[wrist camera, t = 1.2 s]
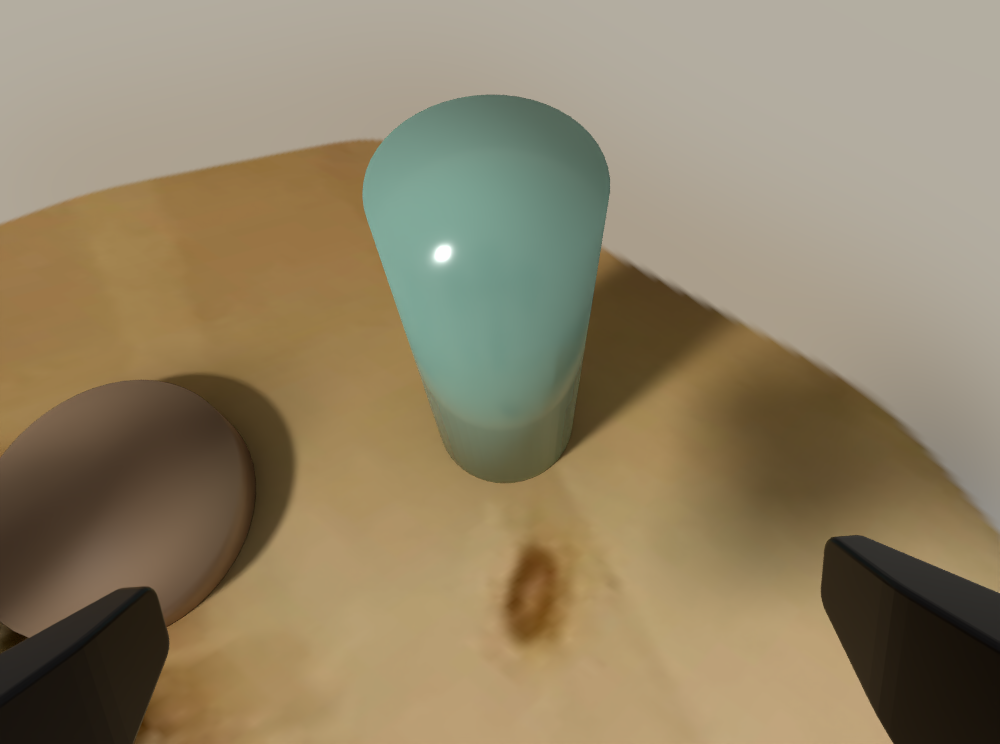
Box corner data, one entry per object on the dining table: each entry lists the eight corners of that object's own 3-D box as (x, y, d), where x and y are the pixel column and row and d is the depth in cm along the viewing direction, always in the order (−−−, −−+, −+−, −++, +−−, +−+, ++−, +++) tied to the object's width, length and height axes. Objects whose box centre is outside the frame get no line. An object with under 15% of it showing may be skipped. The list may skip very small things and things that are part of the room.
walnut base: (305, 511, 23) (291, 499, 22) (76, 711, 20) (44, 712, 19) (172, 354, 26) (153, 335, 25) (-41, 510, 23) (-76, 499, 22)
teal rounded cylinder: (600, 418, 24) (661, 178, 13) (504, 512, 23) (480, 332, 12) (506, 336, 26) (488, 62, 15) (412, 418, 24) (313, 184, 13)
